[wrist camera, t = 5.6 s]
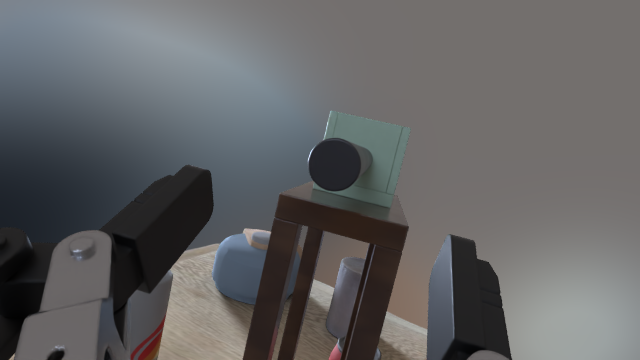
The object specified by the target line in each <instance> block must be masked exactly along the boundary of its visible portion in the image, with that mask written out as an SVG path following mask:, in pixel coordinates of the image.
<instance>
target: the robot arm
mask: <svg viewBox="0 0 640 360" xmlns="http://www.w3.org/2000/svg"><path fill="white" fill-rule="evenodd" d="M213 204H214V203H213V191H212V178H211V173H210V171H209V170H207V169H202V168H199V167H195V166H191V165H186V166H184V167H183V168H182V169H181V170H180V171H179V172H178V173H176V174H175V175H174V176H171V175H168V176H166V177H164V178H162V179H160V180H157V181H155V182H154V183H152V184H151V185H150V186H149V187H148V188H147V189H146V190H144V191H143V194H142V193H141V194H140V195H139V196H138V197H136V198H135V200H134V201H132V202H131V203H130V204H128V205H127V206H126V207H125V208H124V209H123V210H121V211H120V212H119V213H118V214H117V215H116V216H115V217H113V218H112V219H111V220H110V221H109V222H108V223H107V224H106V225H105V226H103V227H102V228H101V229H100V230H98V231H96V230H90V231H83V232H79V233H75V234H73V235H71V236H69V237H67V238H65V239H64V240H62V241H61V242H60V243H30V241H29V239H28V237H27V235H26V233H24V231H22V230H20V229H18V228H10V227H8V228H0V360H9V359H10V358H11V357H12V355H13V354H14V353H15V352H16V353H15V357H14V360H131V357H130V340H131V300H130V297H131V296H132V294H133V293H134V292H135V291H136V290H139V291H142V292H145V293H148V294H150V293H151V292H152V291H153V290H154V288H155V287H156V286H157V285H158V283H159V282H160V281H161V280H162V278H163V277H164V276H165V275H166V273H167V272H168V271H169V270H170V269H171V267H172V266H173V265H174V264H175V262H176V261H177V260H178V259H179V257H180V256H181V255H182V254H183V252H184V251H185V250H186V249H187V247H188V246H189V245H190V244H191V242H192V241H193V240H194V239H195V237H196V236H197V235H198V234H199V232H200V231H201V230H202V229H203V227H204V226H205V225H206V224H207V222H208V221H209V219H210V217H211V215H212V212H213V206H214V205H213ZM428 305H429V306H428V333H427V360H512V358H511V353H510V347H509V341H508V335H507V329H506V323H505V317H504V311H503V308H502V299H501V296H500V287H499V281H498V277H497V275H496V273H495V272H494V270H493V268H492V267H491V265H490V264H489V262H486V261H483V260H479V259H477V255H476V246H475V242H474V241H473V240H470V239H466V238H462V237H458V236H455V235H451V234H449V235H448V236H447V237H446V239H445V241H444V244H443V246H442V249H441V250H440V253H439V255H438V257H437V259H436V262H435V264H434V266H433V269H432V272H431V276H430V283H429V302H428Z"/></svg>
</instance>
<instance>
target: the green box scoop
mask: <svg viewBox="0 0 640 360" xmlns="http://www.w3.org/2000/svg"><path fill="white" fill-rule="evenodd" d="M410 130H411V129H410V128H408V127H402V126H399V125H394V124H389V123H385V122H380V121H376V120H371V119H366V118H362V117H358V116H353V115H349V114H344V113H338V112H335V111H331V112H330V116H329V120H328V124H327V129H326V133H325V137H324V140H323V141H321V142H319V143H318V144H317V145H316V146H315V147H314V148H313V150H312V151H311V153H310V156H309V160H308V170H309V173H310V176H311V178H312V179H313V181H314V184H313V189H317V190H321V191H324V192H328V193H332V194H336V195H340V196H344V197H348V198H352V199H356V200H360V201H364V202H368V203H371V204H375V205H379V206H383V207H387V208H391V204H392V200H393V197H394V192H395V189H396V185H397V181H398V177H399V173H400V169H401V165H402V162H403V158H404V154H405V149H406V146H407V142H408V138H409V134H410Z"/></svg>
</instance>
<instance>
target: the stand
mask: <svg viewBox="0 0 640 360" xmlns="http://www.w3.org/2000/svg"><path fill="white" fill-rule="evenodd" d="M313 184H314V181H311V182H309V183H306V184H303V185H301V186H298V187H295V188H292V189H290V190H287V191H284V192H282V193H280V195H279V199H278V203H277V208H276V212H275V218H274V221H273V226H272V230H271V235H270V239H269V244H268V248H267V253H266V257H265V262H264V266H263V271H262V275H261V280H260V284H259V289H258V293H257V298H256V302H255V307H254V311H253V316H252V320H251V325H250V329H249V334H248V338H247V343H246V347H245V352H244V356H243V360H272V355H273V351H274V347H275V342H276V338H277V334H278V329H279V325H280V321H281V317H282V312H283V308H284V304H285V299H286V295H287V291H288V286H289V282H290V278H291V273H292V269H293V265H294V260H295V256H296V252H297V247H298V243H299V239H300V235H301V230H302V226H303V225H304V226H308V231H307V235H306V239H305V243H304V248H303V252H302V256H301V260H300V265H299V269H298V273H297V277H296V282H295V286H294V290H293V295H292V299H291V303H290V307H289V312H288V316H287V320H286V325H285V329H284V333H283V337H282V342H281V346H280V350H279V355H278V359H277V360H294V358H295V354H296V350H297V345H298V341H299V337H300V333H301V329H302V325H303V320H304V316H305V312H306V308H307V304H308V299H309V295H310V291H311V287H312V283H313V278H314V274H315V270H316V266H317V262H318V258H319V253H320V249H321V245H322V241H323V237H324V232H325V231H327V232H330V233H334V234H338V235H341V236H345V237H349V238H352V239H356V240H359V241H363V242H367V243H369V247H368V251H367V255H366V259H365V262H364V266H363V270H362V274H361V278H360V282H359V286H358V290H357V294H356V298H355V302H354V306H353V310H352V314H351V318H350V322H349V326H348V329H347V333H346V337H345V341H344V345H343V349H342V353H341V357H340V360H374V357H375V353H376V350H377V346H378V342H379V338H380V334H381V331H382V327H383V323H384V319H385V316H386V312H387V308H388V304H389V300H390V296H391V293H392V289H393V285H394V281H395V278H396V274H397V270H398V266H399V263H400V259H401V255H402V250H403V247H404V243H405V240H406V236H407V232H408V228H409V226H408V224H407V221H406V218H405V215H404V213H403V210H402V207H401V204H400V201H399V199H398V196H396V195H394V197H393V200H392V204H391V208H387V207H383V206H379V205H375V204H371V203H368V202H364V201H360V200H356V199H352V198H348V197H344V196H340V195H336V194H332V193H328V192H324V191H321V190H317V189H313Z"/></svg>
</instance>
